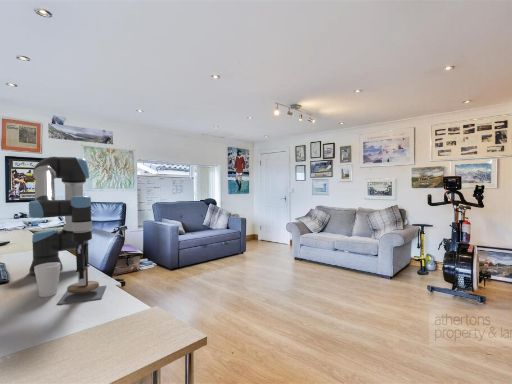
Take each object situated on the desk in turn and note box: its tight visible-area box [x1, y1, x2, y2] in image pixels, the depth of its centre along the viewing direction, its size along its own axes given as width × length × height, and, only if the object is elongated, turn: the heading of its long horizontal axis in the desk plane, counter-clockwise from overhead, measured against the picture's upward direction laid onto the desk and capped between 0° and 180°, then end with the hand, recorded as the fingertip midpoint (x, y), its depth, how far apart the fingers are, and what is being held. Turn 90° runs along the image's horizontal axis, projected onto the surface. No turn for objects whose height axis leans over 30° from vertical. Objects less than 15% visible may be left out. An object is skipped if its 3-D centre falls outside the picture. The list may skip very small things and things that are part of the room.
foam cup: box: [34, 262, 61, 298], centre depth 127 cm, size 10×9×13 cm
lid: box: [66, 266, 100, 293], centre depth 126 cm, size 12×12×9 cm
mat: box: [56, 285, 107, 306], centre depth 126 cm, size 16×16×1 cm
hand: (83, 283), depth 126 cm, fingers closed on lid, 3 cm apart
